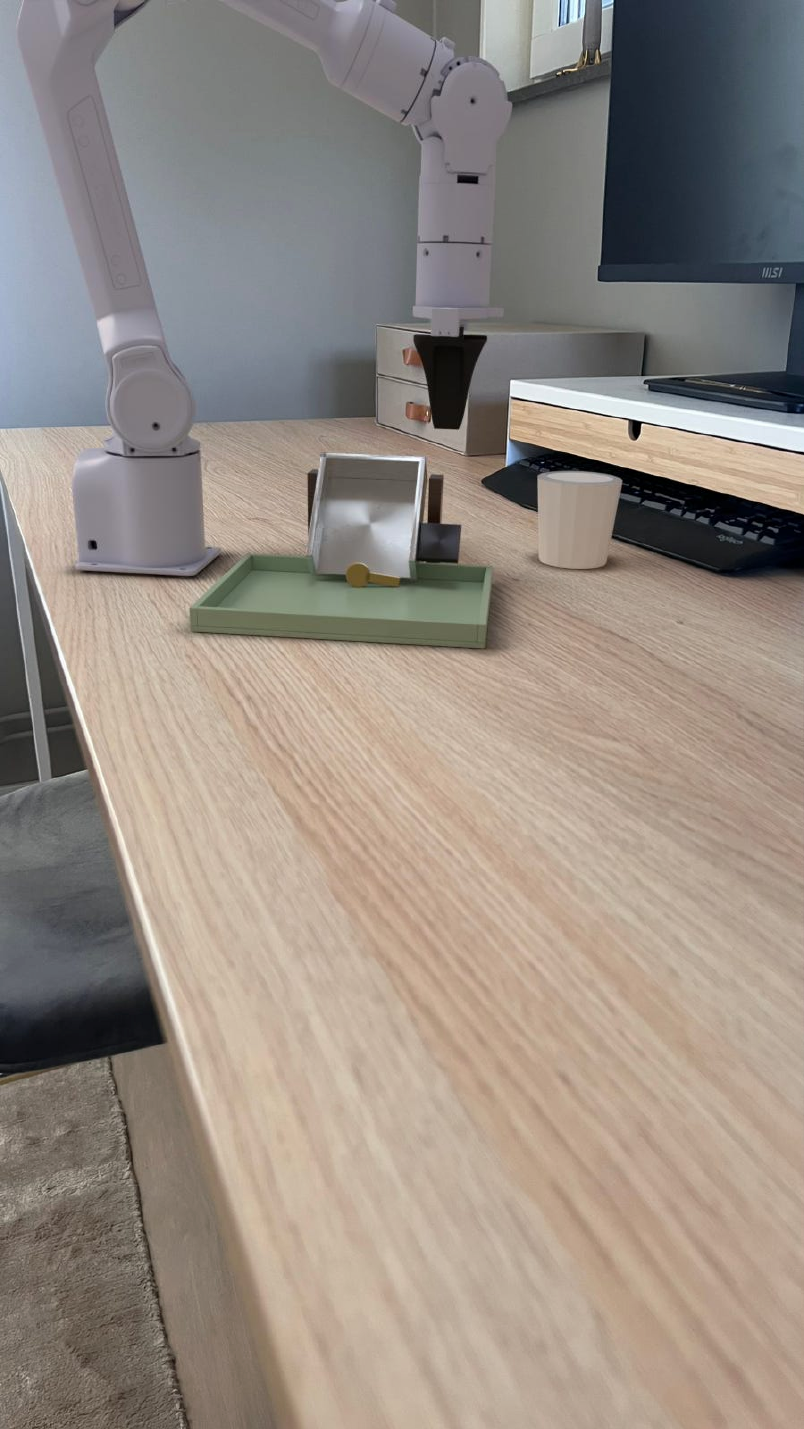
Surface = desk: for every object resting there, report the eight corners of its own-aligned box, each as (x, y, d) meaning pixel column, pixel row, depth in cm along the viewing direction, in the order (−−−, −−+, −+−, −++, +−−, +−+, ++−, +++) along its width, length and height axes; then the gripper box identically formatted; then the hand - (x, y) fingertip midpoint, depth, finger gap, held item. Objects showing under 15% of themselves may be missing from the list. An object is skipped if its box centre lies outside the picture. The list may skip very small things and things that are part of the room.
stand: (308, 568, 82) (307, 473, 79) (312, 562, 84) (312, 468, 81) (437, 575, 81) (441, 479, 79) (439, 568, 83) (443, 474, 80)
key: (343, 583, 76) (344, 585, 76) (348, 560, 76) (348, 561, 75) (396, 593, 77) (397, 594, 76) (401, 569, 76) (402, 571, 76)
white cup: (613, 573, 83) (622, 486, 80) (527, 567, 84) (534, 480, 82) (614, 554, 89) (622, 472, 87) (534, 548, 91) (540, 467, 88)
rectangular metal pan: (311, 575, 77) (305, 555, 75) (326, 471, 81) (321, 447, 78) (457, 583, 76) (457, 563, 74) (466, 477, 80) (466, 453, 77)
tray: (190, 631, 67) (189, 607, 66) (247, 573, 80) (246, 553, 80) (484, 648, 65) (486, 624, 64) (491, 586, 79) (492, 565, 78)
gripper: (505, 241, 72) (494, 442, 77) (508, 249, 85) (498, 419, 90) (404, 239, 72) (399, 438, 77) (423, 247, 86) (418, 416, 91)
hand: (447, 428), depth 84 cm, fingers closed
